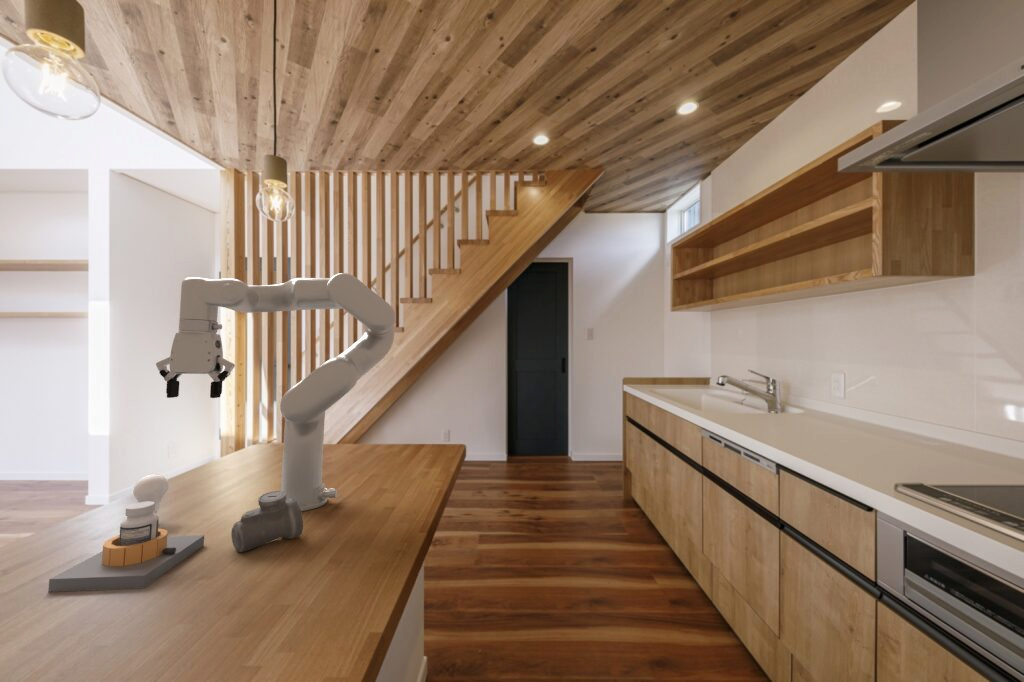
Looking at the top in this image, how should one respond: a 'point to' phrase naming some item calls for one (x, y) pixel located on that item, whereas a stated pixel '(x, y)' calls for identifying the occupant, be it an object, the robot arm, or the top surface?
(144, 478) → the lightbulb
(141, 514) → the pill bottle
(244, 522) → the pipe fitting
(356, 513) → the top surface
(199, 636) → the top surface
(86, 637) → the top surface
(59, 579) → the plate
